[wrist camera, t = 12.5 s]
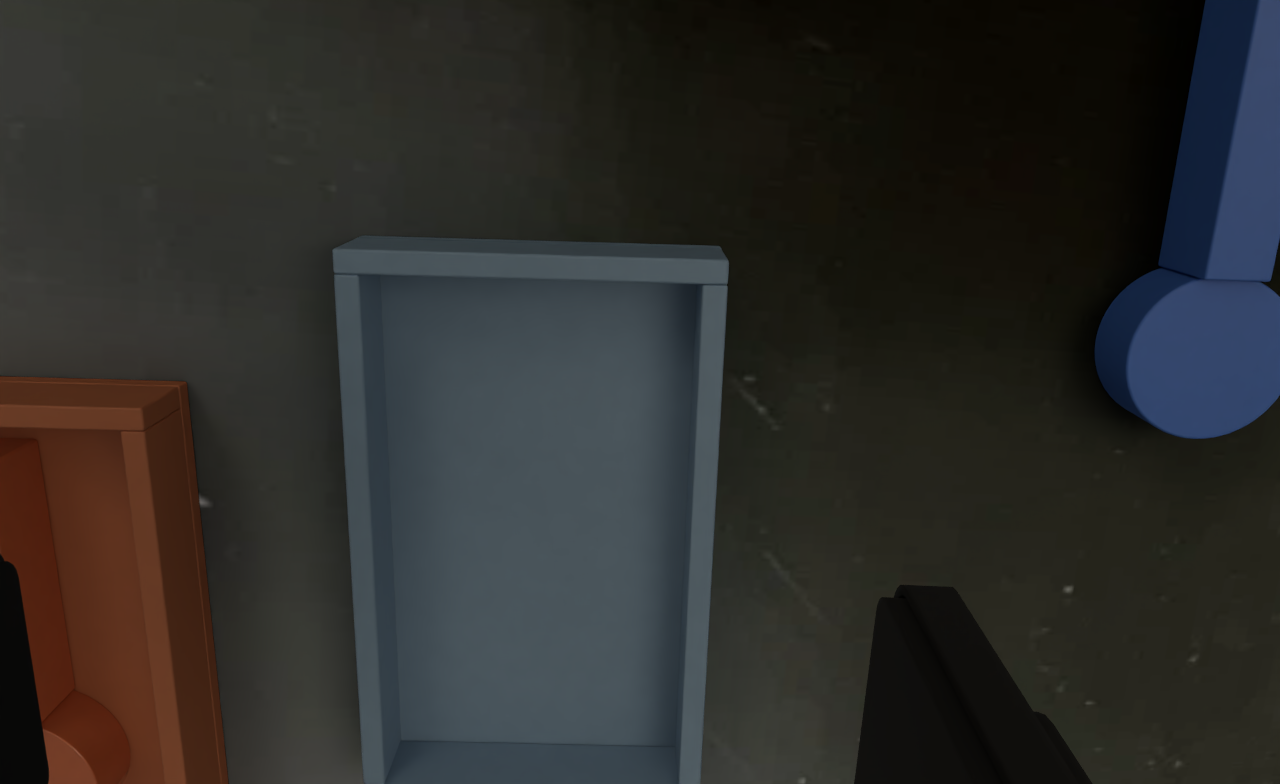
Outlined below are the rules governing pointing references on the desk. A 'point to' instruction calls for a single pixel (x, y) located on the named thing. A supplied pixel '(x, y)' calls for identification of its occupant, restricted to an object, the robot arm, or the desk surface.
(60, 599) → the terracotta spoon
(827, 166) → the desk surface
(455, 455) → the blue tray
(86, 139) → the desk surface
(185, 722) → the terracotta tray
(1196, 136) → the blue spoon
